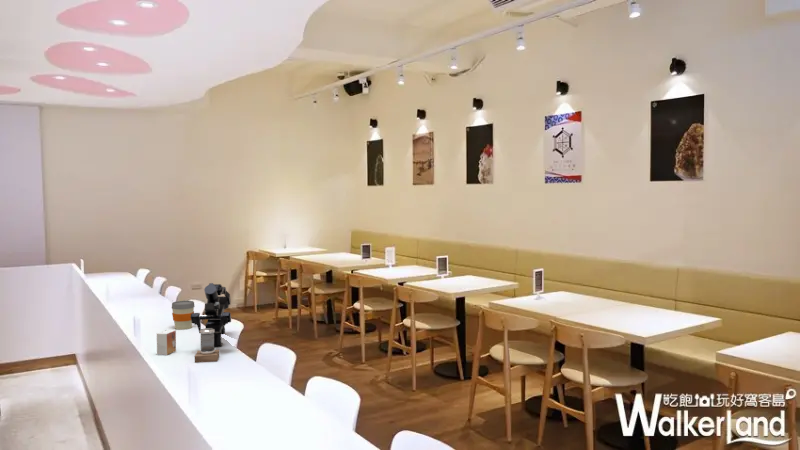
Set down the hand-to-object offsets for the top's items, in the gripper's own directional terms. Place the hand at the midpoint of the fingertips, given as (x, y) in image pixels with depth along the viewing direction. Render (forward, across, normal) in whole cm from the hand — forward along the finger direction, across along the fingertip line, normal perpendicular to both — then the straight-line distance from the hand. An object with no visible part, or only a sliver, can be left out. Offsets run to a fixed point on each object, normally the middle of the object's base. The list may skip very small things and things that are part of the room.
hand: (209, 332), depth 286 cm
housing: (+11, 0, 0) cm, 11 cm away
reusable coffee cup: (-35, -24, +52) cm, 67 cm away
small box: (+3, -22, +13) cm, 25 cm away
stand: (+13, 0, +2) cm, 13 cm away
